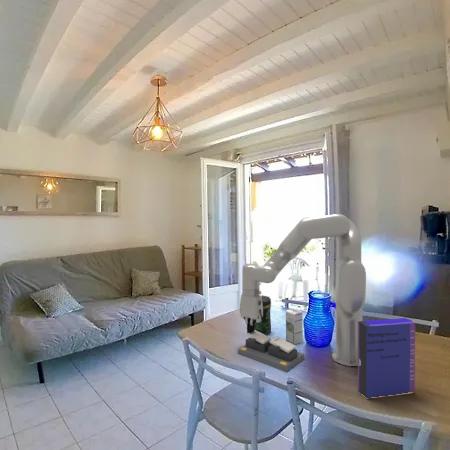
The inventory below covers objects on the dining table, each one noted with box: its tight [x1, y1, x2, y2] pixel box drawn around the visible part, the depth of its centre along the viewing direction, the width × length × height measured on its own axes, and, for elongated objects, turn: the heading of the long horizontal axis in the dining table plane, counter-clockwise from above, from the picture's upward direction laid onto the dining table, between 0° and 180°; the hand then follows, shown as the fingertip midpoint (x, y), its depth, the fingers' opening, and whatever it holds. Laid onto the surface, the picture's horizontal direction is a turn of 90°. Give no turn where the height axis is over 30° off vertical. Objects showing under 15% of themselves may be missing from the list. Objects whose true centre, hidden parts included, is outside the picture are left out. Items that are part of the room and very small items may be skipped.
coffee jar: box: [255, 295, 272, 336], centre depth 155 cm, size 10×8×19 cm
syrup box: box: [285, 308, 304, 345], centre depth 145 cm, size 6×6×14 cm
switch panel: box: [237, 334, 305, 373], centre depth 130 cm, size 24×14×7 cm, turn 48°
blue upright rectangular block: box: [357, 317, 416, 398], centre depth 103 cm, size 17×5×24 cm, turn 99°
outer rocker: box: [246, 330, 272, 344], centre depth 134 cm, size 9×6×1 cm, turn 48°
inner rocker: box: [270, 336, 297, 353], centre depth 126 cm, size 9×6×1 cm, turn 48°
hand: (250, 332), depth 137 cm, fingers closed
